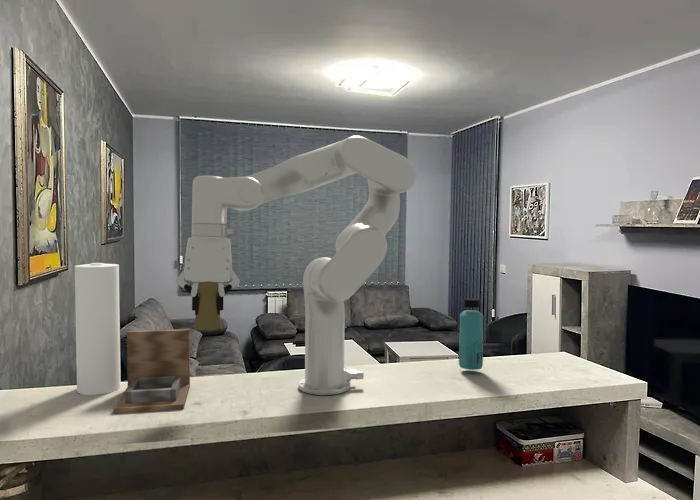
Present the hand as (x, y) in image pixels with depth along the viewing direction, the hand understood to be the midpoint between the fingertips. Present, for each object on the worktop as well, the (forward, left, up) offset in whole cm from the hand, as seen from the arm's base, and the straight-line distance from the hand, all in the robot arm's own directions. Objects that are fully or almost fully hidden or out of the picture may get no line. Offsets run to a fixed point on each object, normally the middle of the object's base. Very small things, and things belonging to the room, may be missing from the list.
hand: (207, 312), depth 118 cm
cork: (0, 0, -3) cm, 3 cm away
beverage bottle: (-68, -10, -20) cm, 72 cm away
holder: (+12, -3, -20) cm, 23 cm away
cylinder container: (+26, -13, -20) cm, 35 cm away
